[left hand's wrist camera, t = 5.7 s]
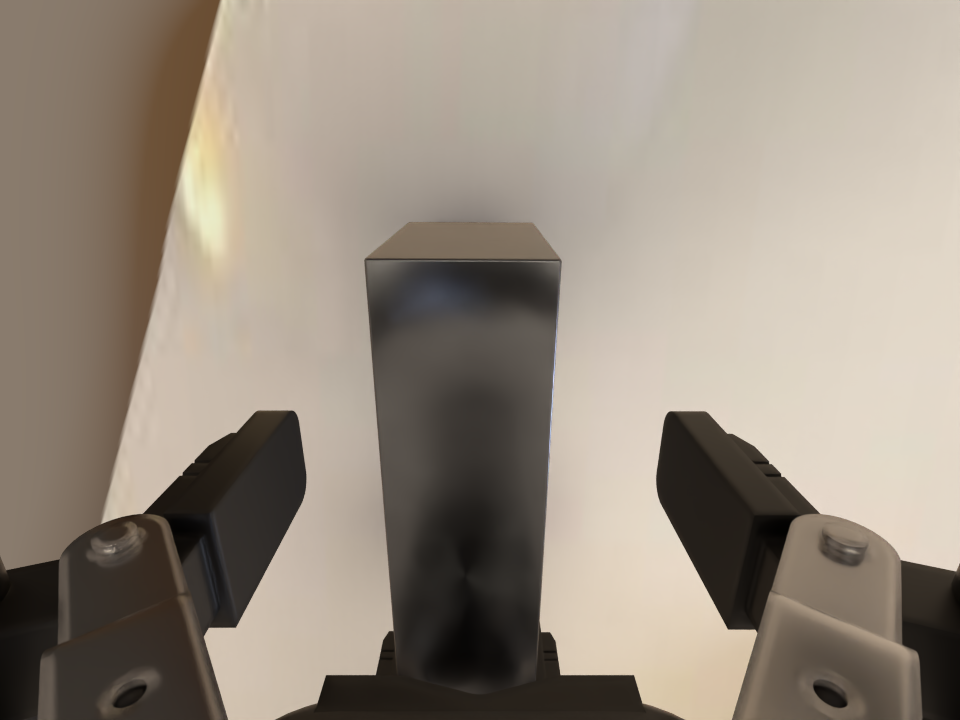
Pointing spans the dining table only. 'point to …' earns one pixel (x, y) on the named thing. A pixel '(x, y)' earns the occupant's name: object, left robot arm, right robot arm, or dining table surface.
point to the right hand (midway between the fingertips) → (470, 633)
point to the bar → (465, 443)
